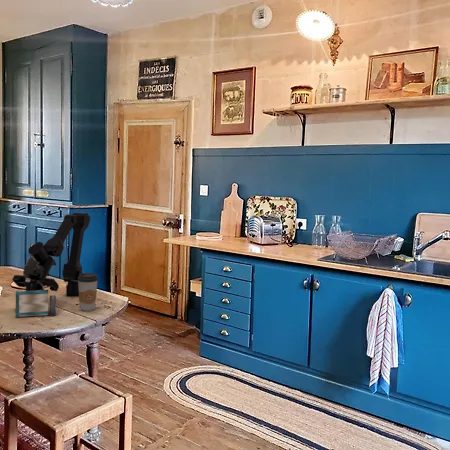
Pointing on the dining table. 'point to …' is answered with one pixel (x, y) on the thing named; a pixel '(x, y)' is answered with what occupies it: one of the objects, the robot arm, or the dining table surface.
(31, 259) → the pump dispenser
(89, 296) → the coffee cup
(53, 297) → the gate posts
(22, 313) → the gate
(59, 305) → the dining table surface
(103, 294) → the dining table surface
